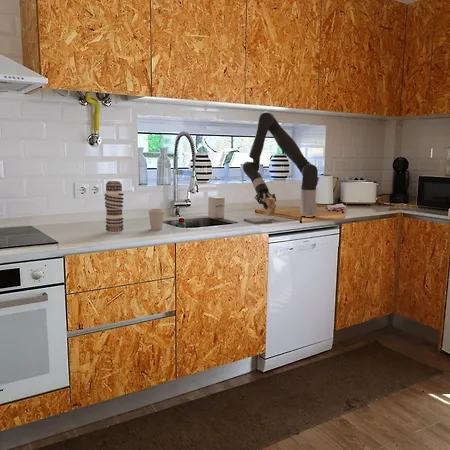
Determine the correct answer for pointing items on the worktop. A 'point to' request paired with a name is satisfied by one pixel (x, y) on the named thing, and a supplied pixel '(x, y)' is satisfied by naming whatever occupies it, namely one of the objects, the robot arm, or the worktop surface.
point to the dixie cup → (156, 218)
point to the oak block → (269, 206)
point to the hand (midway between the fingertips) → (270, 208)
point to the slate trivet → (258, 220)
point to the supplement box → (216, 207)
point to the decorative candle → (114, 207)
